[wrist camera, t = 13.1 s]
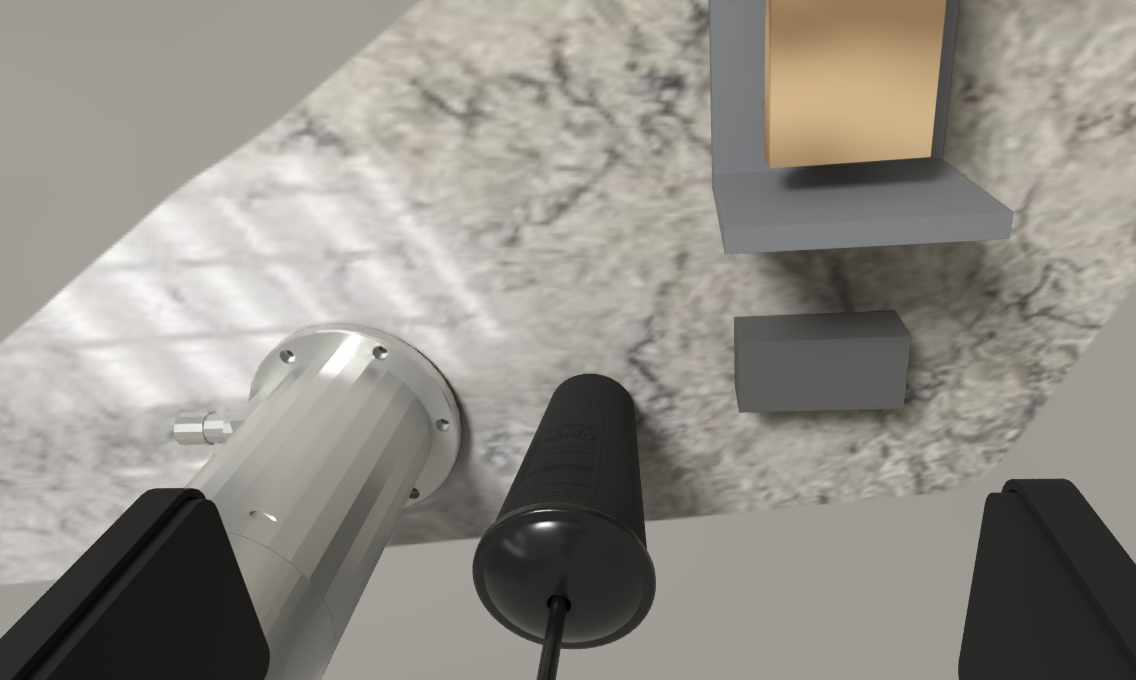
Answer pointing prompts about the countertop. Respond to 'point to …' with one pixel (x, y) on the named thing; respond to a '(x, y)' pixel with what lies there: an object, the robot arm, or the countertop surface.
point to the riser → (821, 362)
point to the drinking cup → (572, 529)
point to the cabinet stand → (827, 165)
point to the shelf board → (850, 80)
